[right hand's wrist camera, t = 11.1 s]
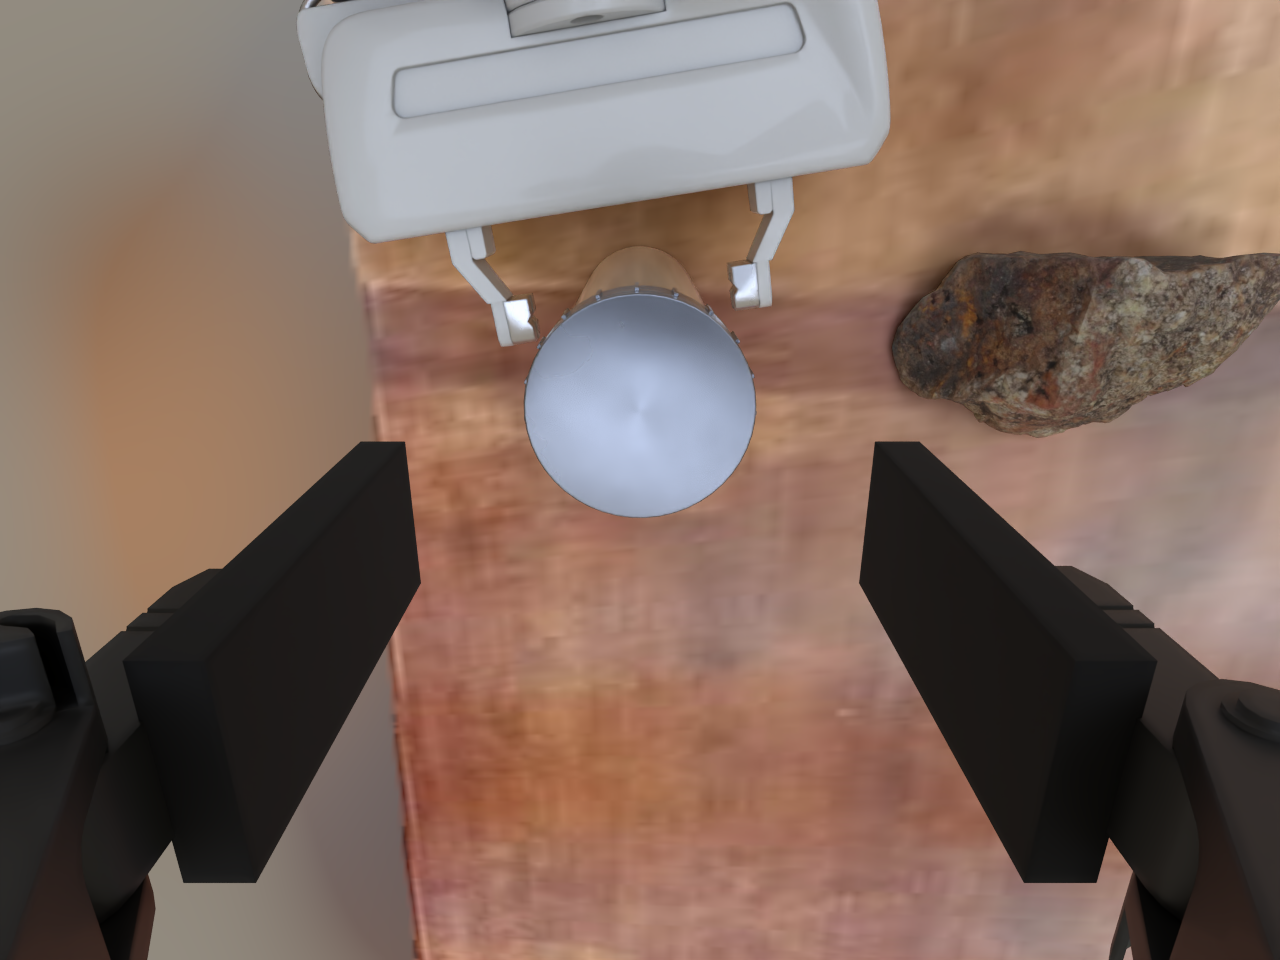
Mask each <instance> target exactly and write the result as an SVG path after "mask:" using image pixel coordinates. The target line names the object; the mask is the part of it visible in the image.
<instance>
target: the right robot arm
mask: <svg viewBox="0 0 1280 960" xmlns="http://www.w3.org/2000/svg"><path fill="white" fill-rule="evenodd" d="M420 584H421V580H420V571H419V562H418V554H417V545H416V536H415V527H414V518H413V509H412V500H411V491H410V482H409V473H408V465H407V456H406V447H405V442H360V443H359V444H358V445H357V446H355V447H354V448H353V449H352V450H351V451H350V452H349V453H348V454H347V455H346V456H345V457H343V458H342V459H341V460H340V461H339V462H338V463H337V464H336V465H335V466H334V467H333V468H332V469H330V470H329V471H328V472H327V473H326V474H325V475H324V476H323V477H322V478H321V479H320V480H318V481H317V482H316V483H315V484H314V485H313V486H312V487H311V488H310V489H309V490H308V491H307V492H305V493H304V494H303V495H302V496H301V497H300V498H299V499H298V500H297V501H296V502H295V503H293V504H292V505H291V506H290V507H289V508H288V509H287V510H286V511H285V512H284V513H283V514H281V515H280V516H279V517H278V518H277V519H276V520H275V521H274V522H273V523H272V524H271V525H269V526H268V527H267V528H266V529H265V530H264V531H263V532H262V533H261V534H260V535H259V536H258V537H256V538H255V539H254V540H253V541H252V542H251V543H250V544H249V545H248V546H247V547H246V548H244V549H243V550H242V551H241V552H240V553H239V554H238V555H237V556H236V557H235V558H234V559H233V560H231V561H230V562H229V563H228V564H227V565H226V566H225V567H224V568H223V569H208V570H206V571H204V572H202V573H200V574H198V575H196V576H194V577H192V578H190V579H188V580H186V581H184V582H182V583H180V584H178V585H176V586H174V587H172V588H171V589H170V590H169V591H167V592H166V593H165V594H164V595H163V596H162V597H160V598H159V599H158V600H157V601H156V602H155V603H153V604H152V605H151V606H150V607H149V608H148V611H147V613H142V614H141V615H140V616H138V617H137V618H136V619H135V620H134V621H133V622H131V623H130V624H129V625H128V626H127V630H126V631H121V632H120V633H119V634H117V635H116V636H115V637H114V638H113V639H112V640H110V641H109V642H108V643H107V644H106V645H105V646H103V647H102V648H101V649H100V650H99V651H98V652H97V653H95V654H94V655H93V656H92V657H91V658H90V659H88V660H87V661H86V662H85V660H84V657H83V654H82V650H81V647H80V643H79V640H78V637H77V633H76V630H75V626H74V623H73V620H72V618H71V617H70V616H68V615H66V614H65V613H63V612H61V611H60V610H51V609H42V608H31V609H20V610H10V611H3V612H0V960H147V957H148V951H149V945H150V939H151V933H152V927H153V921H154V915H155V901H154V894H153V890H152V886H151V883H150V879H149V876H148V873H149V871H150V870H151V868H152V867H153V866H154V864H155V863H156V862H157V860H158V859H159V857H160V856H161V855H162V853H163V852H164V850H165V849H166V848H167V846H168V845H169V843H170V842H171V841H172V843H173V846H174V850H175V854H176V857H177V861H178V864H179V868H180V872H181V875H182V879H183V882H184V883H256V882H257V880H258V878H259V876H260V874H261V873H262V871H263V869H264V867H265V865H266V864H267V862H268V860H269V858H270V856H271V854H272V853H273V851H274V849H275V847H276V845H277V844H278V842H279V840H280V838H281V836H282V834H283V833H284V831H285V829H286V827H287V825H288V824H289V822H290V820H291V818H292V816H293V815H294V813H295V811H296V809H297V807H298V805H299V804H300V802H301V800H302V798H303V796H304V795H305V793H306V791H307V789H308V787H309V785H310V784H311V782H312V780H313V778H314V776H315V775H316V773H317V771H318V769H319V767H320V765H321V764H322V762H323V760H324V758H325V756H326V755H327V753H328V751H329V749H330V747H331V745H332V744H333V742H334V740H335V738H336V736H337V735H338V733H339V731H340V729H341V727H342V725H343V724H344V722H345V720H346V718H347V716H348V715H349V713H350V711H351V709H352V707H353V705H354V704H355V702H356V700H357V698H358V696H359V695H360V693H361V691H362V689H363V687H364V685H365V684H366V682H367V680H368V678H369V676H370V675H371V673H372V671H373V669H374V667H375V665H376V664H377V662H378V660H379V658H380V656H381V655H382V653H383V651H384V649H385V647H386V646H387V644H388V642H389V640H390V638H391V636H392V635H393V633H394V631H395V629H396V627H397V626H398V624H399V622H400V620H401V618H402V616H403V615H404V613H405V611H406V609H407V607H408V606H409V604H410V602H411V600H412V598H413V596H414V595H415V593H416V591H417V589H418V587H419V586H420ZM859 584H860V586H861V587H862V589H863V591H864V593H865V595H866V596H867V598H868V600H869V602H870V604H871V606H872V607H873V609H874V611H875V613H876V615H877V616H878V618H879V620H880V622H881V624H882V626H883V627H884V629H885V631H886V633H887V635H888V636H889V638H890V640H891V642H892V644H893V646H894V647H895V649H896V651H897V653H898V655H899V656H900V658H901V660H902V662H903V664H904V665H905V667H906V669H907V671H908V673H909V675H910V676H911V678H912V680H913V682H914V684H915V685H916V687H917V689H918V691H919V693H920V695H921V696H922V698H923V700H924V702H925V704H926V705H927V707H928V709H929V711H930V713H931V715H932V716H933V718H934V720H935V722H936V724H937V725H938V727H939V729H940V731H941V733H942V735H943V736H944V738H945V740H946V742H947V744H948V745H949V747H950V749H951V751H952V753H953V755H954V756H955V758H956V760H957V762H958V764H959V765H960V767H961V769H962V771H963V773H964V775H965V776H966V778H967V780H968V782H969V784H970V785H971V787H972V789H973V791H974V793H975V795H976V796H977V798H978V800H979V802H980V804H981V805H982V807H983V809H984V811H985V813H986V815H987V816H988V818H989V820H990V822H991V824H992V825H993V827H994V829H995V831H996V833H997V834H998V836H999V838H1000V840H1001V842H1002V844H1003V845H1004V847H1005V849H1006V851H1007V853H1008V854H1009V856H1010V858H1011V860H1012V862H1013V864H1014V865H1015V867H1016V869H1017V871H1018V873H1019V874H1020V876H1021V878H1022V880H1023V882H1024V883H1097V879H1098V875H1099V872H1100V868H1101V864H1102V861H1103V857H1104V854H1105V850H1106V846H1107V843H1108V839H1109V838H1110V839H1111V841H1112V842H1113V843H1114V845H1115V846H1116V847H1117V849H1118V850H1119V852H1120V853H1121V854H1122V856H1123V857H1124V859H1125V860H1126V861H1127V863H1128V864H1129V866H1130V867H1131V868H1132V870H1133V873H1132V876H1131V879H1130V883H1129V886H1128V890H1127V893H1126V896H1125V900H1124V903H1123V906H1122V910H1121V913H1120V917H1119V920H1118V923H1117V927H1116V930H1115V933H1114V937H1113V940H1112V944H1111V948H1110V955H1109V960H1123V958H1124V955H1125V952H1126V949H1127V948H1129V947H1130V946H1131V949H1132V955H1133V960H1280V690H1276V689H1273V688H1269V687H1266V686H1262V685H1258V684H1255V683H1251V682H1243V681H1234V680H1225V679H1219V678H1217V677H1216V676H1215V675H1214V674H1213V673H1212V672H1210V671H1209V670H1208V669H1207V668H1206V667H1205V666H1203V665H1202V664H1201V663H1200V662H1199V661H1197V660H1196V659H1195V658H1194V657H1193V656H1192V655H1190V654H1189V653H1188V652H1187V651H1186V650H1185V649H1183V648H1182V647H1181V646H1180V645H1179V644H1178V643H1176V642H1175V641H1174V640H1173V639H1172V638H1171V637H1169V636H1168V635H1167V634H1166V633H1165V632H1164V631H1162V630H1161V629H1160V628H1155V627H1154V623H1153V622H1152V621H1151V620H1149V619H1148V618H1147V617H1146V616H1145V615H1144V614H1142V613H1141V612H1140V611H1139V610H1134V609H1133V605H1132V604H1131V603H1130V602H1128V601H1127V600H1126V599H1125V598H1124V597H1122V596H1121V595H1120V594H1119V593H1118V592H1117V591H1115V590H1114V589H1113V588H1112V587H1111V586H1110V585H1108V584H1107V583H1105V582H1103V581H1101V580H1099V579H1097V578H1095V577H1093V576H1091V575H1089V574H1087V573H1085V572H1083V571H1081V570H1079V569H1077V568H1074V567H1072V566H1054V565H1053V564H1052V563H1051V562H1050V561H1049V560H1047V559H1046V558H1045V557H1044V556H1043V555H1042V554H1041V553H1040V552H1039V551H1038V550H1037V549H1036V548H1034V547H1033V546H1032V545H1031V544H1030V543H1029V542H1028V541H1027V540H1026V539H1025V538H1024V537H1022V536H1021V535H1020V534H1019V533H1018V532H1017V531H1016V530H1015V529H1014V528H1013V527H1012V526H1011V525H1009V524H1008V523H1007V522H1006V521H1005V520H1004V519H1003V518H1002V517H1001V516H1000V515H999V514H997V513H996V512H995V511H994V510H993V509H992V508H991V507H990V506H989V505H988V504H987V503H986V502H984V501H983V500H982V499H981V498H980V497H979V496H978V495H977V494H976V493H975V492H974V491H972V490H971V489H970V488H969V487H968V486H967V485H966V484H965V483H964V482H963V481H962V480H960V479H959V478H958V477H957V476H956V475H955V474H954V473H953V472H952V471H951V470H950V469H949V468H947V467H946V466H945V465H944V464H943V463H942V462H941V461H940V460H939V459H938V458H937V457H935V456H934V455H933V454H932V453H931V452H930V451H929V450H928V449H927V448H926V447H925V446H924V445H922V444H921V443H920V442H875V447H874V456H873V465H872V473H871V482H870V491H869V500H868V509H867V518H866V527H865V536H864V545H863V554H862V562H861V571H860V580H859Z"/></svg>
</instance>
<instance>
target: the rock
mask: <svg viewBox="0 0 1280 960" xmlns="http://www.w3.org/2000/svg"><path fill="white" fill-rule="evenodd" d="M1279 300H1280V254H1274V253H1257V254H1248V255H1238V256H1232V257H1226V258H1213V257H1205V256H1201V255H1199V256H1192V257H1190V256H1141V257H1117V256H1116V257H1088V256H1085V255H1079V254H1074V253H1053V254H1035V253H1029V252H1023V251H1019V252H1015V253H1010V254H988V253H975V254H972V255H969V256H966V257H964V258H962V259H961V260H959V261H958V262H956V264H955V265H954V267H953V268H952V269H951V270H950V272H949V273H948V274H947V275H946V276H945V278H944V279H943V280H942V283H941V284H940V285H939V287H938V288H937V289H936V290H935V291H933V292H932V293H930V294H928V295H926V296H925V297H923V298H922V299H921V300H920V301H919V302H918V303H917V304H916V306H915V307H914V308H913V309H912V310H911V311H910V313H909V314H908V315H907V317H906V318H905V319H904V321H903V322H902V323H901V324H900V326H899V327H898V329H897V332H896V335H895V338H894V341H893V345H892V350H893V356H894V360H895V364H896V367H897V369H898V371H899V375H900V379H901V381H902V382H903V383H904V384H905V385H906V386H907V387H908V388H909V389H910V390H911V391H914V392H915V393H916V394H917V395H918V396H921V397H924V398H927V399H949V400H953V401H954V402H957V403H961V404H963V405H964V406H965V407H966V408H967V409H969V410H970V411H972V412H973V413H974V415H975V417H976V419H977V420H978V421H979V422H985V423H986V424H988V425H989V426H991V427H993V428H994V429H996V430H999V431H1001V432H1006V433H1011V434H1019V435H1022V434H1028V435H1030V436H1033V437H1037V438H1041V437H1047V436H1050V435H1053V434H1057V433H1062V432H1064V431H1065V430H1066V429H1070V428H1074V427H1079V426H1080V425H1082V424H1088V423H1091V422H1103V423H1109V422H1111V421H1112V420H1114V419H1116V418H1118V417H1119V416H1120V415H1122V414H1123V413H1124V412H1126V411H1127V410H1129V408H1130V407H1131V406H1132V405H1134V404H1136V403H1138V402H1140V401H1142V400H1143V399H1145V398H1146V397H1147V395H1150V396H1151V395H1154V394H1157V393H1161V392H1164V391H1169V390H1172V389H1174V388H1176V387H1179V386H1181V385H1184V386H1185V387H1188V386H1190V385H1191V384H1193V383H1195V382H1197V381H1198V380H1200V379H1202V378H1205V377H1206V376H1208V375H1210V374H1212V373H1213V372H1214V371H1215V370H1216V369H1217V368H1218V367H1219V365H1220V364H1221V363H1223V362H1224V361H1225V360H1226V359H1227V358H1228V357H1229V356H1231V355H1232V354H1233V353H1234V352H1235V351H1237V349H1238V348H1239V347H1240V345H1241V344H1242V343H1243V342H1244V341H1245V340H1246V339H1247V338H1248V337H1249V335H1250V334H1251V333H1252V332H1253V331H1254V330H1255V329H1256V328H1257V327H1258V326H1259V324H1260V323H1261V321H1262V320H1263V318H1264V317H1265V316H1266V315H1267V314H1268V313H1269V312H1270V311H1271V310H1272V309H1273V307H1274V306H1275V305H1276V304H1277V302H1278V301H1279Z"/></svg>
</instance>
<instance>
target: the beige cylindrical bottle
mask: <svg viewBox="0 0 1280 960" xmlns="http://www.w3.org/2000/svg"><path fill="white" fill-rule="evenodd" d="M635 282H639V285H650V286H657V287H663V288H667V289H670V290H672V289H673V287H675V288H677V290H678V292H680V293H682V294H684V295H686V296H689V297H691V298H693V299H694V300H696V301H698V302H699V303H701V304H702V305H704V306H705V304H704V302H703V300H702V298H701V297H700V295H699V293H698V291H697V289H696V287H695V285H694V284H693V282H692V280H691V278H690V276H689V274H688V273H687V271H686V270H685V268H684V267H683V266H682V265H681V264H680V263H679V262H678V261H677V260H676V259H675V258H674V257H672V256H671V255H669V254H668V253H666V252H664V251H661V250H659V249H656V248H652V247H646V246H634V247H628V248H624V249H621V250H619V251H616V252H614V253H613V254H611V255H609V256H608V257H606V258H605V259H604V260H603V261H602V262H601V263H600V264H599V265H598V266H597V267H596V268H595V270H594V271H593V273H592V275H591V276H590V278H589V280H588V282H587V284H586V285H585V287H584V289H583V291H582V293H581V295H580V297H579V298H578V300H577V302H576V304H575V306H576V305H578V304H579V303H580V302H582V301H584V300H586V299H587V298H589V297H591V296H593V295H596V293H597V290H600V289H601V290H602V292H603V291H605V290H609V289H613V288H617V287H623V286H631V285H635ZM575 306H574V307H575Z"/></svg>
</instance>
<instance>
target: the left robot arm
mask: <svg viewBox="0 0 1280 960" xmlns="http://www.w3.org/2000/svg"><path fill="white" fill-rule="evenodd" d="M320 1H321V0H304V1H303V3H302V5H301V7H300V10H299V13H298V15H297V35H298V39H299V43H300V46H301V50H302V54H303V58H304V61H305V65H306V68H307V72H308V76H309V79H310V81H311V83H312V86H313V87H314V89H315V91H316V93H317V94H318V95H319V97H320V98H321V99H322V100H323V107H324V116H325V125H326V133H327V140H328V147H329V153H330V159H331V165H332V170H333V176H334V181H335V186H336V190H337V195H338V200H339V204H340V208H341V211H342V214H343V217H344V219H345V221H346V222H347V223H348V225H350V226H351V227H352V228H353V229H354V230H355V231H356V232H358V233H359V234H360V235H361V236H362V237H363V238H365V239H366V240H367V241H368V242H370V243H382V242H388V241H394V240H401V239H407V238H413V237H419V236H426V235H432V234H438V233H445V234H446V238H447V243H448V247H449V251H450V256H451V260H452V264H453V265H454V266H455V268H456V269H457V270H458V271H459V272H460V273H461V274H462V276H463V277H464V278H465V279H466V280H467V281H468V282H469V284H470V285H471V286H472V287H473V288H474V289H475V290H476V292H477V293H478V294H479V295H480V296H481V297H482V298H483V300H484V301H485V302H486V303H487V304H491V308H492V312H493V317H494V322H495V326H496V331H497V335H498V340H499V342H500V345H501V346H502V347H505V346H513V345H518V344H524V343H529V342H535V341H538V338H539V337H540V328H539V322H538V319H537V318H536V317H535V316H534V315H533V314H534V312H535V310H536V307H535V302H534V297H533V293H529V294H522V295H514V296H512V295H513V294H512V292H511V291H510V290H509V289H508V287H507V286H506V285H505V284H504V282H503V281H502V280H501V279H500V278H499V276H498V275H497V274H496V273H495V271H494V270H493V269H492V268H491V266H490V265H489V264H488V263H487V261H486V260H485V259H484V258H486V257H488V256H490V255H493V254H494V253H495V252H496V248H495V243H494V237H493V232H492V227H491V225H494V224H500V223H507V222H513V221H519V220H525V219H532V218H538V217H544V216H550V215H557V214H563V213H569V212H575V211H582V210H588V209H594V208H600V207H606V206H613V205H619V204H625V203H631V202H638V201H644V200H650V199H656V198H663V197H669V196H675V195H681V194H688V193H694V192H700V191H706V190H712V189H719V188H725V187H731V186H737V185H744V184H747V187H748V196H749V205H750V211H751V212H753V213H756V214H761V215H762V214H764V216H763V218H762V221H761V223H760V226H759V228H758V231H757V233H756V235H755V238H754V240H753V243H752V245H751V248H750V250H749V252H748V255H747V257H746V260H740V261H735V262H729V263H727V270H728V279H729V280H730V282H731V283H732V284H733V285H732V287H731V289H730V298H731V304H732V308H733V309H734V310H735V311H740V310H747V309H755V308H761V307H768V306H771V305H772V290H771V279H770V267H769V260H772V259H773V257H774V255H775V252H776V250H777V248H778V246H779V243H780V241H781V239H782V237H783V235H784V232H785V230H786V228H787V226H788V223H789V221H790V219H791V217H792V215H793V212H794V198H793V184H792V177H794V176H800V175H806V174H812V173H819V172H825V171H831V170H837V169H843V168H850V167H856V166H862V165H867V164H869V163H870V162H871V161H872V160H873V159H874V157H875V156H876V154H877V153H878V151H879V150H880V148H881V147H882V145H883V143H884V141H885V139H886V138H887V136H888V133H889V130H890V96H889V82H888V70H887V61H886V53H885V45H884V38H883V30H882V24H881V18H880V12H879V7H878V1H877V0H332V1H333V2H334V3H333V4H328V5H322V6H317V5H318V3H319V2H320Z"/></svg>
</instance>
